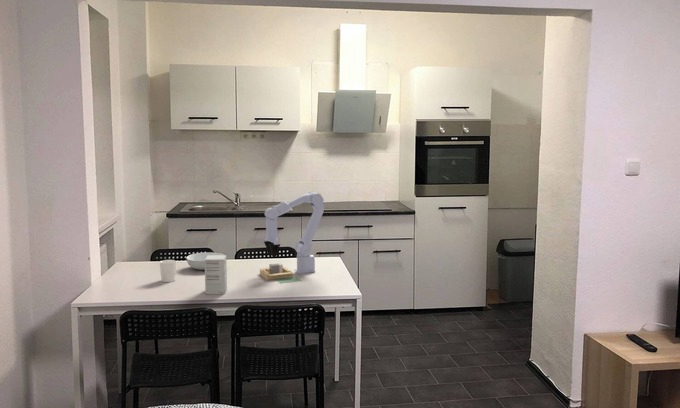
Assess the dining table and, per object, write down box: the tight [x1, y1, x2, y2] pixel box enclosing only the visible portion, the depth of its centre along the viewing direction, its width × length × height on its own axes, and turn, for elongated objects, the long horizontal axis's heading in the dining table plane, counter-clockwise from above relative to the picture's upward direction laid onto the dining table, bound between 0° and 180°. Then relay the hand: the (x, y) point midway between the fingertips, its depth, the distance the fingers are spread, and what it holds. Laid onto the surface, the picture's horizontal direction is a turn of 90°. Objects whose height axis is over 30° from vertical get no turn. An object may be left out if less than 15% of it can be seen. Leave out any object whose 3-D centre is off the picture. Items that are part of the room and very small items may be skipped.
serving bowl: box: [185, 252, 224, 271], centre depth 315 cm, size 21×21×7 cm
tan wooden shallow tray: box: [259, 266, 294, 281], centre depth 297 cm, size 14×17×3 cm
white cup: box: [159, 259, 177, 283], centre depth 288 cm, size 8×8×10 cm
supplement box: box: [204, 254, 228, 295], centre depth 267 cm, size 10×9×17 cm
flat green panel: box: [274, 276, 303, 284], centre depth 288 cm, size 12×9×1 cm
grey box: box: [268, 262, 284, 274], centre depth 297 cm, size 6×4×6 cm
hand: (272, 255), depth 300 cm, fingers open, 7 cm apart
